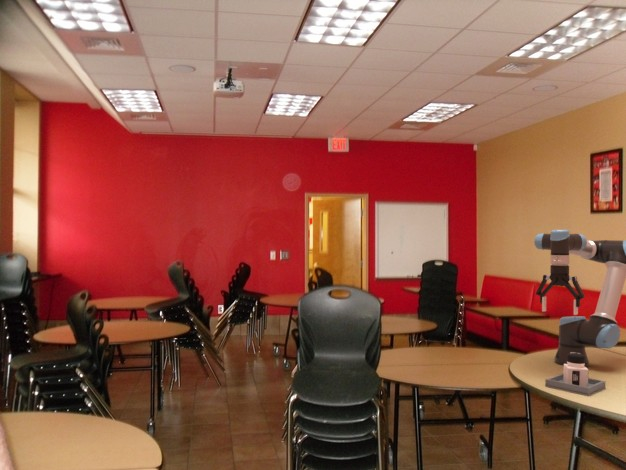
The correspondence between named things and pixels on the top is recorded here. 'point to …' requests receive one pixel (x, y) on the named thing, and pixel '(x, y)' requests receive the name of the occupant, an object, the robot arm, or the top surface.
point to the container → (575, 370)
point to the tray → (558, 383)
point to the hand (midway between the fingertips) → (559, 312)
